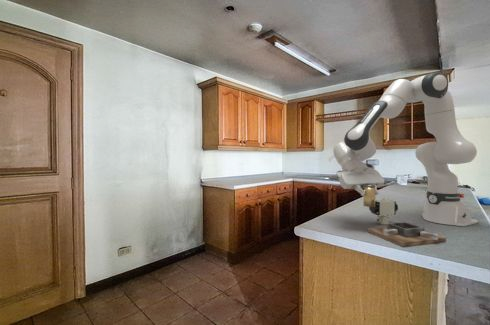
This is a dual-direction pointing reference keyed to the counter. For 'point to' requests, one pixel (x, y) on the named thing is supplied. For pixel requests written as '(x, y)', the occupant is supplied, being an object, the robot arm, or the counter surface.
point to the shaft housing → (406, 234)
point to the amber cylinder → (369, 195)
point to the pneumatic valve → (384, 210)
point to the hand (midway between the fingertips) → (370, 194)
